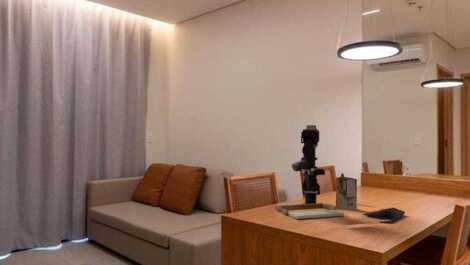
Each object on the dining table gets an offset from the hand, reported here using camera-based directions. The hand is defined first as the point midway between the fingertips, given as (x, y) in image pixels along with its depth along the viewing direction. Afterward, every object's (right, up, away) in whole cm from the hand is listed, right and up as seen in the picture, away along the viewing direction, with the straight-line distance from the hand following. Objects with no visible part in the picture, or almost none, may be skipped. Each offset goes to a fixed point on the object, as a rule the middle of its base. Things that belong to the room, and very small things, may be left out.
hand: (309, 188), depth 165 cm
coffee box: (+20, -12, +9) cm, 25 cm away
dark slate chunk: (+33, -13, -6) cm, 36 cm away
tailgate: (0, -11, -6) cm, 12 cm away
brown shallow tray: (-2, -12, -1) cm, 12 cm away
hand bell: (+24, -13, +29) cm, 40 cm away
